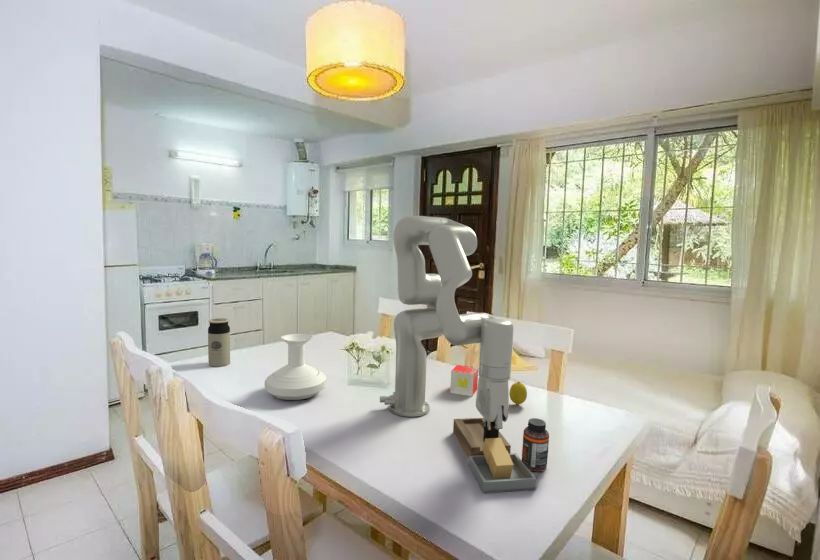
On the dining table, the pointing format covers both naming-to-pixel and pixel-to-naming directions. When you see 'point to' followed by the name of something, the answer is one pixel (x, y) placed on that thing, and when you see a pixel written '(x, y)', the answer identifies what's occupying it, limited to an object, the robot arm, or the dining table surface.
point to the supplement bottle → (535, 445)
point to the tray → (488, 484)
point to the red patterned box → (464, 380)
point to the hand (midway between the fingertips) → (490, 443)
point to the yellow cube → (492, 446)
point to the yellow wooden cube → (500, 464)
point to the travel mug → (218, 342)
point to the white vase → (295, 373)
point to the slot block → (473, 435)
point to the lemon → (518, 393)
